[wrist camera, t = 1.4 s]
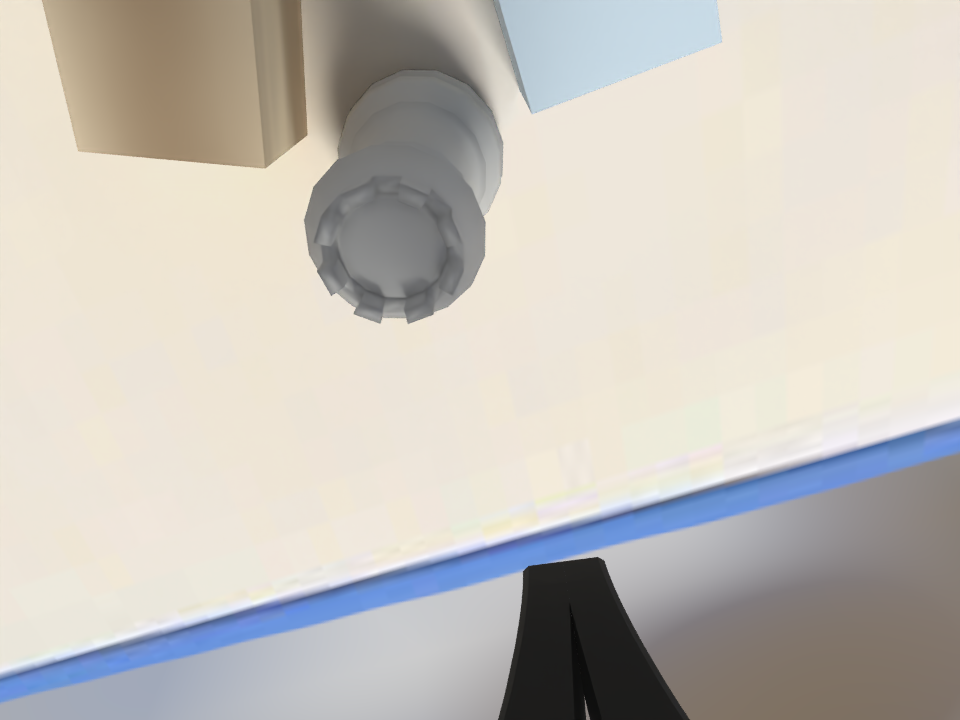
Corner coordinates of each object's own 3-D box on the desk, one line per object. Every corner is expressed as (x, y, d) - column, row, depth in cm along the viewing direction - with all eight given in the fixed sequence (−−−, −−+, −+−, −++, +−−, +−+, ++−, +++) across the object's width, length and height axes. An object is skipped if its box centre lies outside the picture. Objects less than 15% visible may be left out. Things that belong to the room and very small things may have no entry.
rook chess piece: (323, 85, 16) (207, 146, 9) (488, 50, 16) (499, 86, 9) (369, 243, 18) (305, 389, 11) (514, 216, 18) (540, 350, 11)
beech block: (299, -37, 15) (245, -50, 11) (307, 134, 17) (265, 168, 13) (131, -56, 14) (24, -75, 11) (161, 120, 16) (78, 151, 13)
